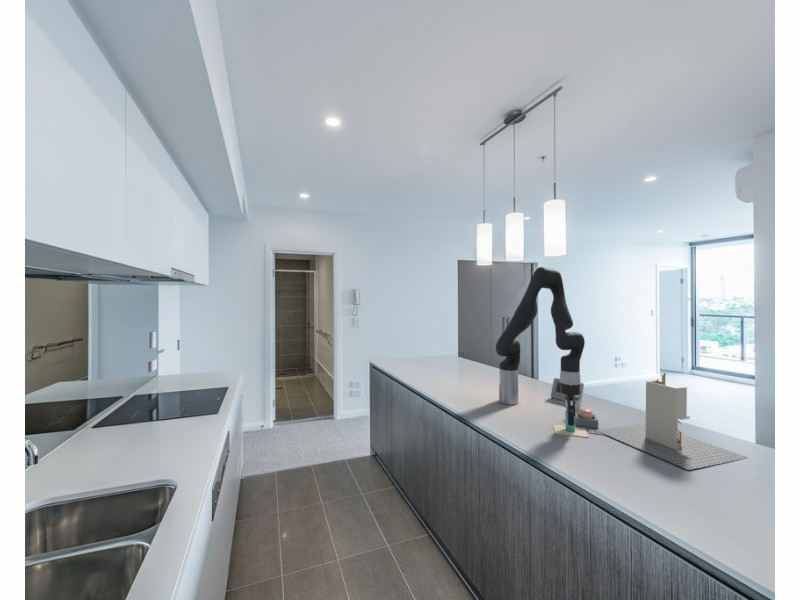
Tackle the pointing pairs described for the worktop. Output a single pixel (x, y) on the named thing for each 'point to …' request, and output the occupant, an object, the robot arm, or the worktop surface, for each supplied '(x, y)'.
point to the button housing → (586, 421)
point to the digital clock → (557, 394)
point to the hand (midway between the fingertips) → (570, 421)
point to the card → (593, 431)
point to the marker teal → (567, 427)
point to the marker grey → (577, 403)
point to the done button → (586, 413)
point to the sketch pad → (578, 432)
